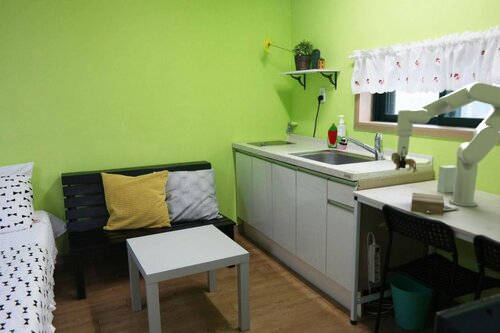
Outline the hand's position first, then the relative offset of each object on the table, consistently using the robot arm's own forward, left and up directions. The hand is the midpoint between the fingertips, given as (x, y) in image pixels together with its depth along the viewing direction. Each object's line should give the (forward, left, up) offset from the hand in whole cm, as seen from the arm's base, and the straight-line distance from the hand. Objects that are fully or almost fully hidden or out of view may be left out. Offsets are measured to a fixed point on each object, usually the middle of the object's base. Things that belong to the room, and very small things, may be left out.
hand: (401, 166), depth 206 cm
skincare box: (-22, +27, -17) cm, 39 cm away
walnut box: (+17, +12, -17) cm, 27 cm away
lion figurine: (0, 0, -2) cm, 2 cm away
